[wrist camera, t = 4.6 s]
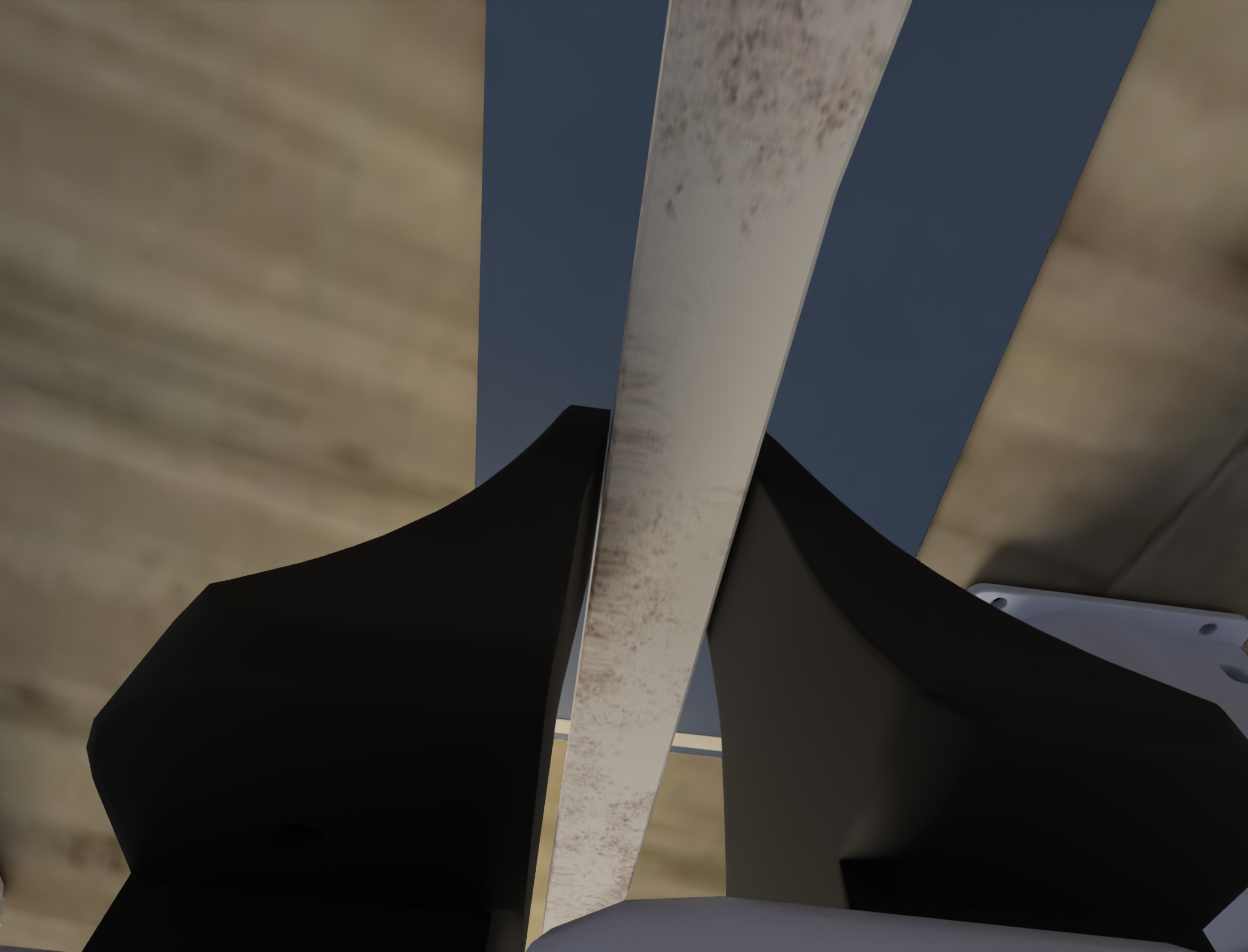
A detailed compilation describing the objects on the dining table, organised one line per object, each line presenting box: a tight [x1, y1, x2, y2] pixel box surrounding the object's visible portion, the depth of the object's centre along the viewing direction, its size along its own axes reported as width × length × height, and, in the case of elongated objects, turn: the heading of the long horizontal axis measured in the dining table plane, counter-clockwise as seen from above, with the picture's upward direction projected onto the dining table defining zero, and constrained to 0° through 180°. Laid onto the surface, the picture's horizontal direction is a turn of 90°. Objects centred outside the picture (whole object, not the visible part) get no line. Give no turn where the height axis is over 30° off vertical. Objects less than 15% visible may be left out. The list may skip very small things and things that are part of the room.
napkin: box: [475, 0, 1156, 758], centre depth 19 cm, size 14×34×1 cm, turn 173°
